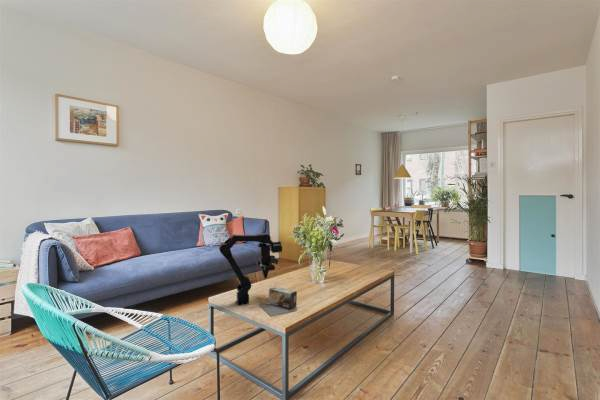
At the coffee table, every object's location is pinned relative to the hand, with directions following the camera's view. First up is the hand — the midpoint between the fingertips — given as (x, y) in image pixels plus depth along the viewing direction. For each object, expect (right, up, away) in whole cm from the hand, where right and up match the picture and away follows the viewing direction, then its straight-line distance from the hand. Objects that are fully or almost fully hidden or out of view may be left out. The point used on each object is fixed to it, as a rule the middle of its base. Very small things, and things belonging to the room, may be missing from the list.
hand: (265, 278), depth 188 cm
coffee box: (+4, -8, -5) cm, 11 cm away
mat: (+9, -14, -14) cm, 22 cm away
